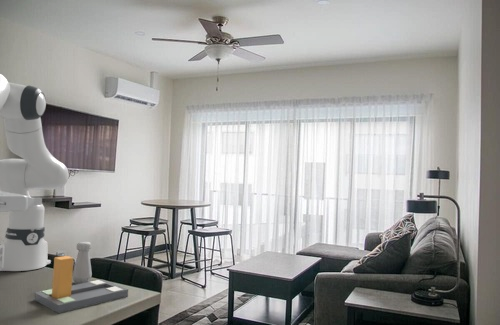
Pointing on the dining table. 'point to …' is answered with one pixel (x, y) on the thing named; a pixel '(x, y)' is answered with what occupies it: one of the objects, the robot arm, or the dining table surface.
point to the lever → (62, 277)
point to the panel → (82, 296)
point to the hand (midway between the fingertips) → (32, 199)
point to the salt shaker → (82, 264)
